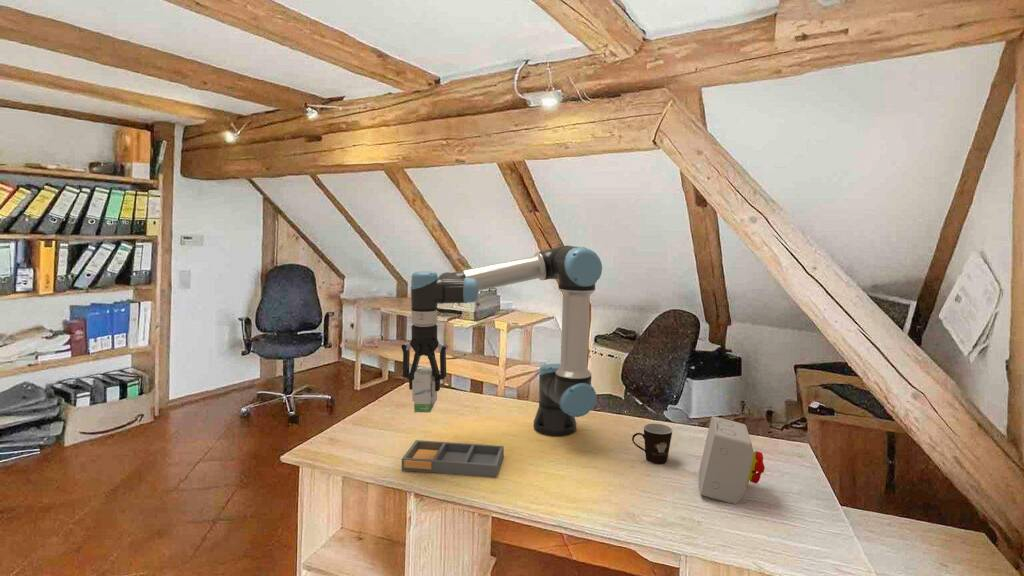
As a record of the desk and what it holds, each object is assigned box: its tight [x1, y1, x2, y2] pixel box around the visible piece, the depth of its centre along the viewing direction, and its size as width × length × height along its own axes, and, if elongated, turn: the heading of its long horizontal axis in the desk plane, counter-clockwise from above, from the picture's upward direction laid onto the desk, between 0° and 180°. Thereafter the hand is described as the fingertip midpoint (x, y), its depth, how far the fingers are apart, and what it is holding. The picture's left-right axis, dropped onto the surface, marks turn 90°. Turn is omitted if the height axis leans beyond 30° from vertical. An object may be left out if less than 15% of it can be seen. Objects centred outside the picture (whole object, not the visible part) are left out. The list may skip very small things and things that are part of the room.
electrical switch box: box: [698, 415, 766, 505], centre depth 151 cm, size 15×15×20 cm
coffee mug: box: [631, 422, 674, 465], centre depth 172 cm, size 12×9×10 cm
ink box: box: [413, 365, 436, 414], centre depth 165 cm, size 9×5×12 cm, turn 178°
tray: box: [401, 439, 505, 478], centre depth 167 cm, size 28×15×4 cm, turn 83°
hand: (424, 400), depth 166 cm, fingers closed on ink box, 5 cm apart
